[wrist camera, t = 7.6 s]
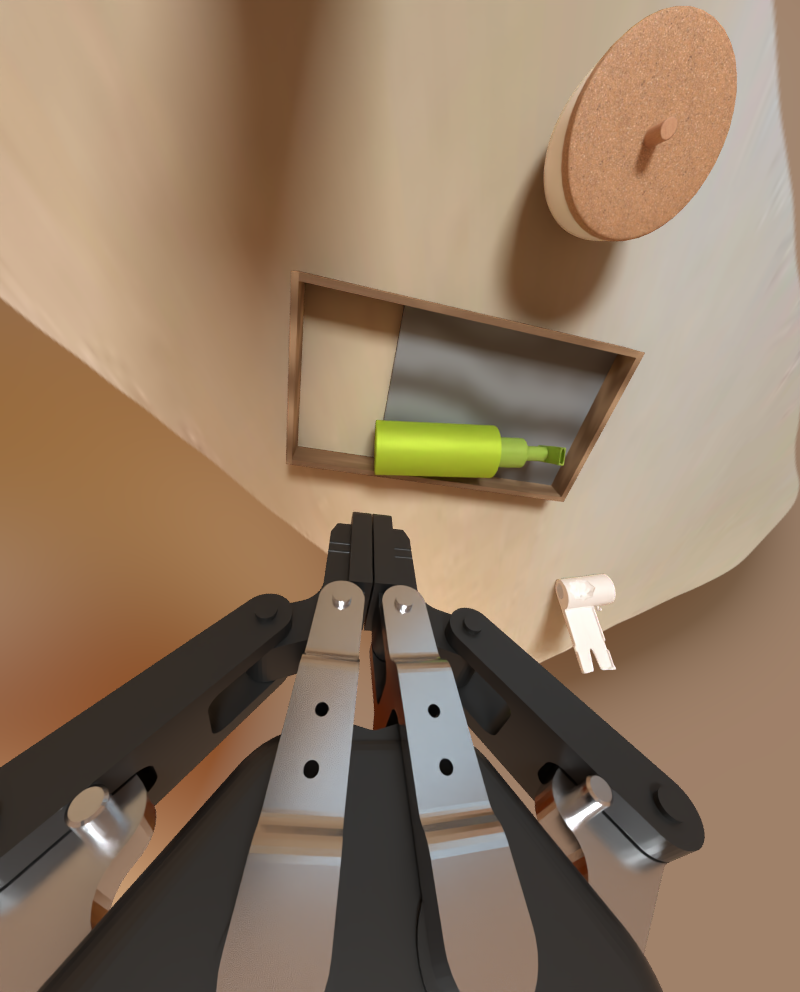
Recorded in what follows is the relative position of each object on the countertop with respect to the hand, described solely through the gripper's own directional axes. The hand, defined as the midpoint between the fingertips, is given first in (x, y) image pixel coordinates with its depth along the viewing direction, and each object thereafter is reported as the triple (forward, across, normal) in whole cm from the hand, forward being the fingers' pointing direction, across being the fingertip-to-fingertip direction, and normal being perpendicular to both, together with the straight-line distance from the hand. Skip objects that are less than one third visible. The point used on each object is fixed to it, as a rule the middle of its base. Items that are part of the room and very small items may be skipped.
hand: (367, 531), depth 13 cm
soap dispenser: (+23, -2, +7) cm, 24 cm away
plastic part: (+27, -40, +30) cm, 57 cm away
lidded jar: (+27, -16, -19) cm, 37 cm away
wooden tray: (+27, -10, +2) cm, 29 cm away
